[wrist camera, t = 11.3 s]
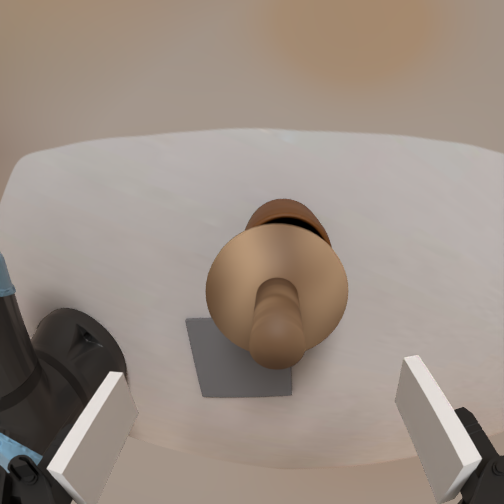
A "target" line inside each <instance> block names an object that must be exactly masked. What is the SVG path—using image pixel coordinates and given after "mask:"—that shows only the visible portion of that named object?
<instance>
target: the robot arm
mask: <svg viewBox="0 0 504 504" xmlns="http://www.w3.org/2000/svg"><path fill="white" fill-rule="evenodd" d="M15 292H16V290H15V287H14V285H13V284H12V282H11V279H10V276H9V273H8V269H7V266H6V263H5V260H4V257H3V255H2V254H1V252H0V504H71V501H72V500H74V501H75V502H76V503H77V504H97V503H98V500H99V498H100V496H101V494H102V491H103V489H104V487H105V485H106V483H107V480H108V478H109V476H110V474H111V472H112V469H113V467H114V465H115V463H116V461H117V458H118V456H119V454H120V452H121V450H122V448H123V445H124V443H125V441H126V439H127V437H128V435H129V433H130V430H131V428H132V426H133V424H134V422H135V420H136V418H137V416H138V413H139V412H138V410H137V407H136V405H135V402H134V400H133V397H132V395H131V392H130V390H129V387H128V384H127V382H126V379H125V376H126V366H125V361H124V358H123V355H122V352H121V350H120V348H119V346H118V345H117V343H116V342H115V340H114V339H113V337H112V336H111V335H110V334H109V332H108V331H107V330H106V329H105V328H104V327H103V326H102V325H101V324H99V323H98V322H97V321H96V320H94V319H93V318H92V317H90V316H88V315H87V314H85V313H83V312H80V311H78V310H75V309H70V308H60V309H57V310H54V311H53V312H51V313H50V314H49V315H47V316H46V317H45V318H44V319H43V320H42V321H41V322H40V323H39V325H38V327H37V330H36V332H35V334H34V335H33V337H32V339H31V340H30V338H29V335H28V332H27V330H26V327H25V324H24V321H23V319H22V316H21V313H20V310H19V306H18V303H17V300H16V296H15ZM395 403H396V405H397V407H398V409H399V412H400V414H401V416H402V418H403V421H404V423H405V425H406V427H407V430H408V432H409V434H410V437H411V439H412V442H413V444H414V446H415V449H416V451H417V453H418V456H419V458H420V461H421V463H422V466H423V468H424V471H425V473H426V476H427V478H428V481H429V483H430V486H431V489H432V491H433V494H434V497H435V499H436V502H437V504H441V503H444V502H447V501H450V500H452V499H454V498H455V497H456V496H457V495H458V493H459V492H461V494H462V497H463V498H462V499H461V500H460V502H459V503H458V504H504V456H499V454H498V453H497V452H496V450H495V448H494V447H493V445H492V444H491V442H490V440H489V439H488V437H487V435H486V434H485V432H484V431H483V430H482V427H481V426H480V424H478V421H477V420H476V418H475V417H474V415H473V414H472V413H471V412H470V411H468V410H467V409H466V408H464V407H462V408H459V409H456V410H453V408H452V407H451V405H450V403H449V402H448V400H447V399H446V397H445V395H444V394H443V392H442V391H441V389H440V388H439V386H438V384H437V383H436V381H435V380H434V378H433V377H432V375H431V374H430V372H429V371H428V369H427V368H426V366H425V365H424V363H423V362H422V360H421V359H420V357H419V356H418V355H415V356H410V357H405V358H403V363H402V369H401V374H400V379H399V384H398V389H397V393H396V398H395Z"/></svg>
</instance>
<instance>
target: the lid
mask: <svg viewBox="0 0 504 504" xmlns="http://www.w3.org/2000/svg"><path fill="white" fill-rule="evenodd" d="M347 300H348V282H347V276H346V273H345V270H344V267H343V265H342V263H341V261H340V259H339V258H338V256H337V255H336V253H335V252H334V250H333V249H332V248H331V247H330V245H329V244H328V243H327V242H326V241H325V240H323V239H322V238H321V237H319V236H318V235H317V234H315V233H313V232H311V231H310V230H307V229H305V228H302V227H299V226H296V225H292V224H284V223H270V224H263V225H259V226H255V227H252V228H250V229H247V230H245V231H243V232H242V233H240V234H238V235H236V236H235V237H234V238H233V239H231V240H230V241H229V242H228V243H227V244H226V245H225V246H224V247H223V248H222V249H221V251H220V252H219V254H218V255H217V257H216V258H215V260H214V262H213V264H212V266H211V268H210V271H209V273H208V277H207V282H206V301H207V306H208V309H209V312H210V315H211V317H212V319H213V321H214V323H215V324H216V326H217V327H218V329H219V330H220V331H221V332H222V333H223V334H224V336H225V337H227V338H228V339H229V340H230V341H231V342H233V343H234V344H236V345H237V346H239V347H241V348H243V349H245V350H247V351H249V352H250V354H251V356H252V358H253V359H254V360H255V361H256V362H257V363H258V364H259V365H261V366H263V367H265V368H268V369H274V370H280V369H286V368H289V367H291V366H293V365H295V364H296V363H297V362H298V361H299V360H300V359H301V358H302V357H303V355H304V352H305V351H306V350H308V349H310V348H313V347H314V346H316V345H318V344H319V343H321V342H322V341H323V340H324V339H326V338H327V337H328V336H329V335H330V334H331V333H332V332H333V330H334V329H335V328H336V326H337V325H338V324H339V322H340V320H341V318H342V316H343V314H344V311H345V308H346V304H347Z"/></svg>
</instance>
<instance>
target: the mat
mask: <svg viewBox="0 0 504 504" xmlns="http://www.w3.org/2000/svg"><path fill="white" fill-rule="evenodd" d="M186 326H187V331H188V336H189V340H190V345H191V349H192V354H193V358H194V363H195V367H196V371H197V376H198V380H199V384H200V388H201V392H202V396H203V397H267V396H288V395H292V380H291V367H289V368H286V369H280V370H274V369H268V368H265V367H263V366H261V365H259V364H258V363H257V362H256V361H255V360H254V359H253V358H252V356H251V354H250V352H249V351H247V350H245V349H243V348H241V347H239V346H237V345H236V344H234V343H233V342H231V341H230V340H229V339H228V338H227V337H225V336H224V334H223V333H222V332H221V331H220V330H219V329H218V327H217V326H216V324H215V323H214V321H213V319H212V318H192V319H186Z"/></svg>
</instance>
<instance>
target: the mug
mask: <svg viewBox="0 0 504 504" xmlns="http://www.w3.org/2000/svg"><path fill="white" fill-rule="evenodd" d="M270 223H284V224H292V225H296V226H299V227H302V228H305V229H307V230H310V231H311V232H313V233H315V234H317V235H318V236H319V237H321V238H322V239H323V240H325V241H326V242H327V243H328V244H329V245H330V247H331V243H330V240H329V237H328V235H327V233H326V231H325V229H324V227H323V226H322V225H321V223H320V222H319V221H318V219H317V218H316V217H315V215H314V214H313V213H312V212H311V211H310V210H309V209H308V208H307V207H306V206H304V205H303V204H301V203H299V202H297V201H294V200H290V199H276V200H272V201H270V202H267V203H265V204H264V205H262V206H261V207H260V208H258V209H257V210H256V211H255V213H254V214H253V215H252V217H251V219H250V220H249V222H248V224H247V226H246V229H245V230H247V229H250V228H252V227H255V226H259V225H263V224H270ZM331 248H332V247H331Z"/></svg>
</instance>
